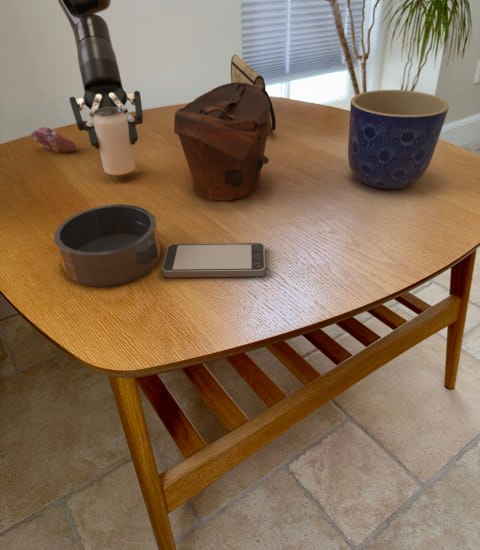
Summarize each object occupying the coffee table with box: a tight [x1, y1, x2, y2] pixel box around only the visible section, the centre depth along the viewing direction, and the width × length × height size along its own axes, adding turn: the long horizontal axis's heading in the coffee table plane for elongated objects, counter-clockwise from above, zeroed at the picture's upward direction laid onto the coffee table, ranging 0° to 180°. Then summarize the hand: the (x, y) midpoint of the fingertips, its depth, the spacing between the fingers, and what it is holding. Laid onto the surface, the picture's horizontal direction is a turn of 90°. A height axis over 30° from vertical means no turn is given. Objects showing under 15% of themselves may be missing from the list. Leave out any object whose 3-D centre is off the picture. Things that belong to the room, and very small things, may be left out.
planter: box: [347, 89, 450, 190], centre depth 83 cm, size 17×17×15 cm
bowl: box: [53, 203, 162, 288], centre depth 66 cm, size 15×15×6 cm
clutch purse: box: [230, 54, 277, 131], centre depth 114 cm, size 30×7×15 cm, turn 13°
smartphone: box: [161, 242, 266, 278], centre depth 65 cm, size 7×1×15 cm
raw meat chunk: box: [30, 126, 77, 153], centre depth 104 cm, size 10×5×7 cm, turn 55°
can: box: [93, 107, 136, 177], centre depth 87 cm, size 6×6×12 cm
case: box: [173, 82, 272, 201], centre depth 81 cm, size 18×20×18 cm
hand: (115, 144), depth 86 cm, fingers closed on can, 6 cm apart
